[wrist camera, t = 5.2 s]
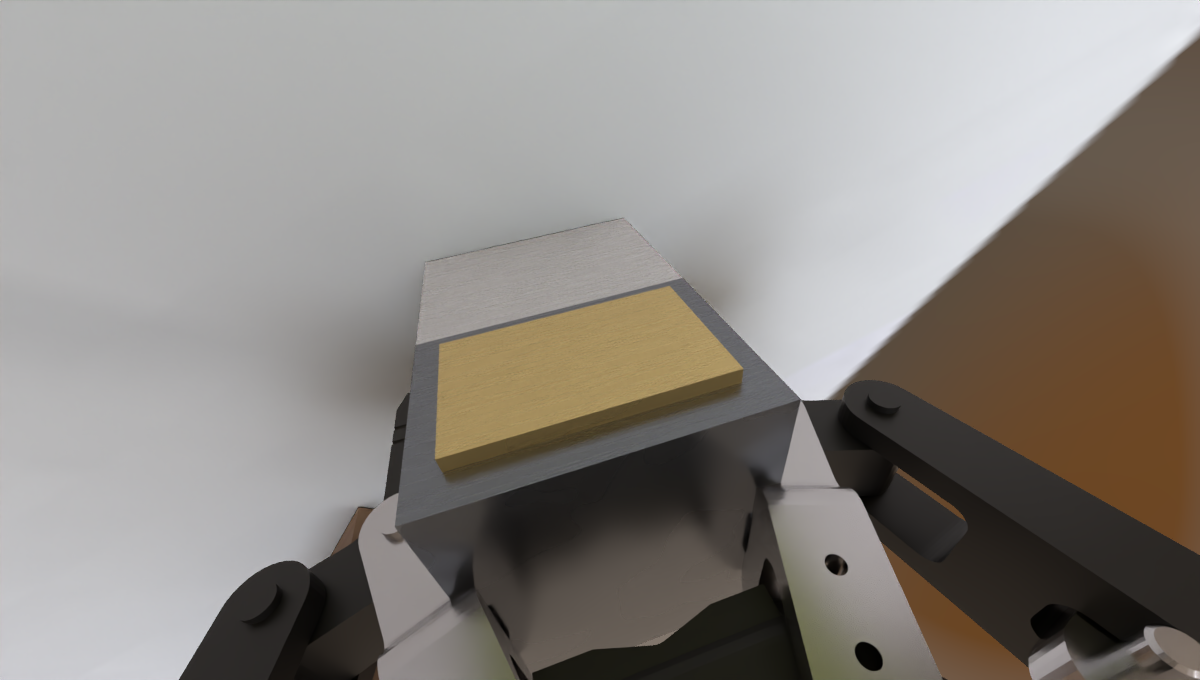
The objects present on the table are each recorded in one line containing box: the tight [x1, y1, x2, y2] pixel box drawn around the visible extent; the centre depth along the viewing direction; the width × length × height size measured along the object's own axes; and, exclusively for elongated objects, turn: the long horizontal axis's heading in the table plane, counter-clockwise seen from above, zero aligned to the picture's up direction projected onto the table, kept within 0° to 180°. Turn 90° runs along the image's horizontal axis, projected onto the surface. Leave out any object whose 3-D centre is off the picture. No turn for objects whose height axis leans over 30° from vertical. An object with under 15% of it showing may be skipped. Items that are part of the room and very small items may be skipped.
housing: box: [395, 218, 801, 675], centre depth 9 cm, size 5×6×7 cm
